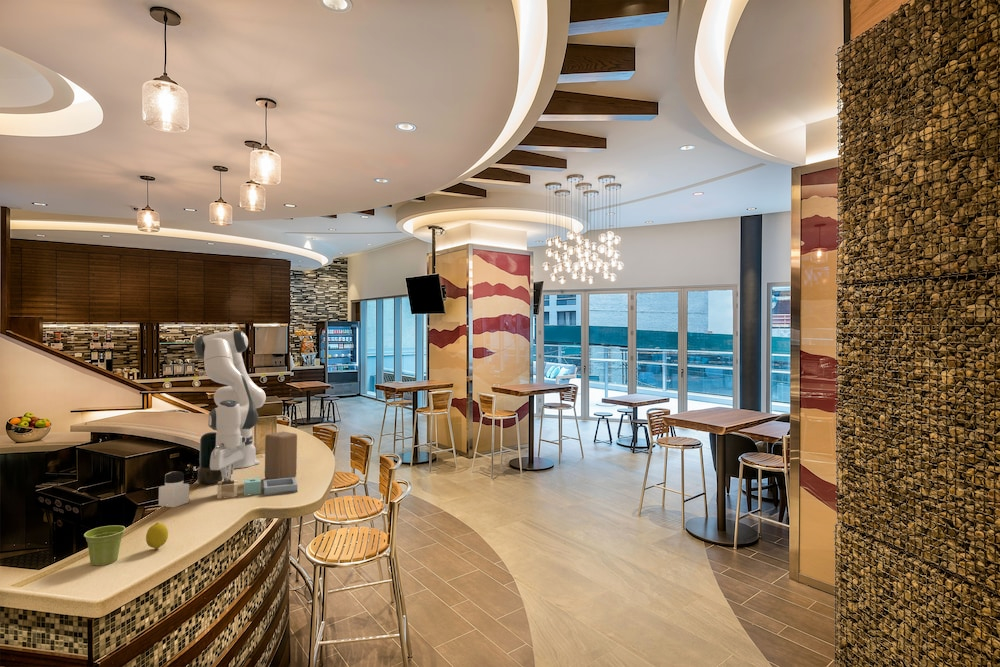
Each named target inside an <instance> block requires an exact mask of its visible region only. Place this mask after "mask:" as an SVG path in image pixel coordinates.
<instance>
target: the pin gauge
mask: <svg viewBox="0 0 1000 667" xmlns="http://www.w3.org/2000/svg"><path fill="white" fill-rule="evenodd" d="M226 470H227V472H228V477H226V478H223V481H224V485H226V484H231V480H232V475H231V465H229V466H227V469H226Z"/></svg>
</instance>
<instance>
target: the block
mask: <svg viewBox="0 0 1000 667" xmlns="http://www.w3.org/2000/svg"><path fill="white" fill-rule="evenodd" d="M264 444H265V445H264V448H265V449H264V451H265V453H264V478H265V480H272V479H282V478H292V477H295V478H296V477H297V468H298V467H297V465H298V464H297V461H298V454H297V453H298V434H297V433H294V432H288V431H279V432H274V433H269V434H266V435H265V443H264Z"/></svg>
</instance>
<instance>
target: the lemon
mask: <svg viewBox="0 0 1000 667" xmlns="http://www.w3.org/2000/svg"><path fill="white" fill-rule="evenodd" d="M168 536H169V531H168V527H167V525H165V524H163V523H161V522H155V523H154V524H152V525H151V526H150V527H149V528H148V529H147V532H146V535H145V541H146V544H147V545H148V547H150V548H153V549H155V550H159V548H161V547H162V546H164V545H165V544H166V542H167V540H168Z"/></svg>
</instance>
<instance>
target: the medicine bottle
mask: <svg viewBox="0 0 1000 667" xmlns="http://www.w3.org/2000/svg"><path fill="white" fill-rule="evenodd" d="M184 475H185V473H184V472H182V471H178V470H177V471H169V472H168V473H166V474H165V475H164V485H162V486H159V487H158V506H159V507H164V506H166V505H167V504H168V505H167V506H166V508H176V507H179V506H181V505H184V504H185V505H186V504H187V503H189V502H190V483H184V480H185V479H184V478H185V476H184Z"/></svg>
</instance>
